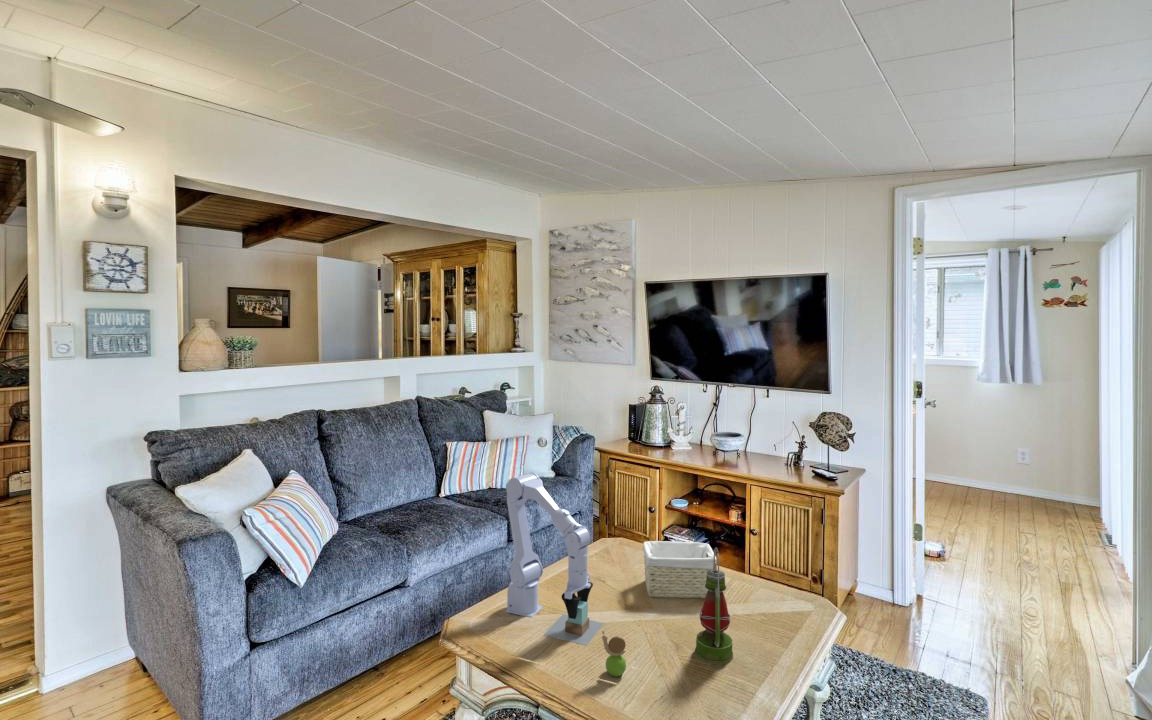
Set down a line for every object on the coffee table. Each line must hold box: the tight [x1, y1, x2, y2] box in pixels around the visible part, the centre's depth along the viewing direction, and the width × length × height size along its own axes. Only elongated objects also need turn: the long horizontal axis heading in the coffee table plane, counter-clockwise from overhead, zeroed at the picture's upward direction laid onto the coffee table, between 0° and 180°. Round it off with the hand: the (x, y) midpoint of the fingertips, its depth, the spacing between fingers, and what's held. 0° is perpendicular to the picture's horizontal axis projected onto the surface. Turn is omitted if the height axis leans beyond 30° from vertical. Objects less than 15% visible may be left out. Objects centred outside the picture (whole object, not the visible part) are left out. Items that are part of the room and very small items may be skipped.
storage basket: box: [642, 540, 718, 599], centre depth 208 cm, size 24×16×15 cm
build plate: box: [543, 613, 605, 646], centre depth 180 cm, size 14×14×1 cm
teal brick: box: [568, 601, 589, 625], centre depth 179 cm, size 4×4×5 cm
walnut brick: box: [565, 617, 590, 636], centre depth 180 cm, size 6×6×3 cm
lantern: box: [694, 547, 734, 665], centre depth 167 cm, size 14×11×30 cm
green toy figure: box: [601, 630, 627, 677], centre depth 157 cm, size 5×6×12 cm
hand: (577, 612), depth 179 cm, fingers open, 7 cm apart
